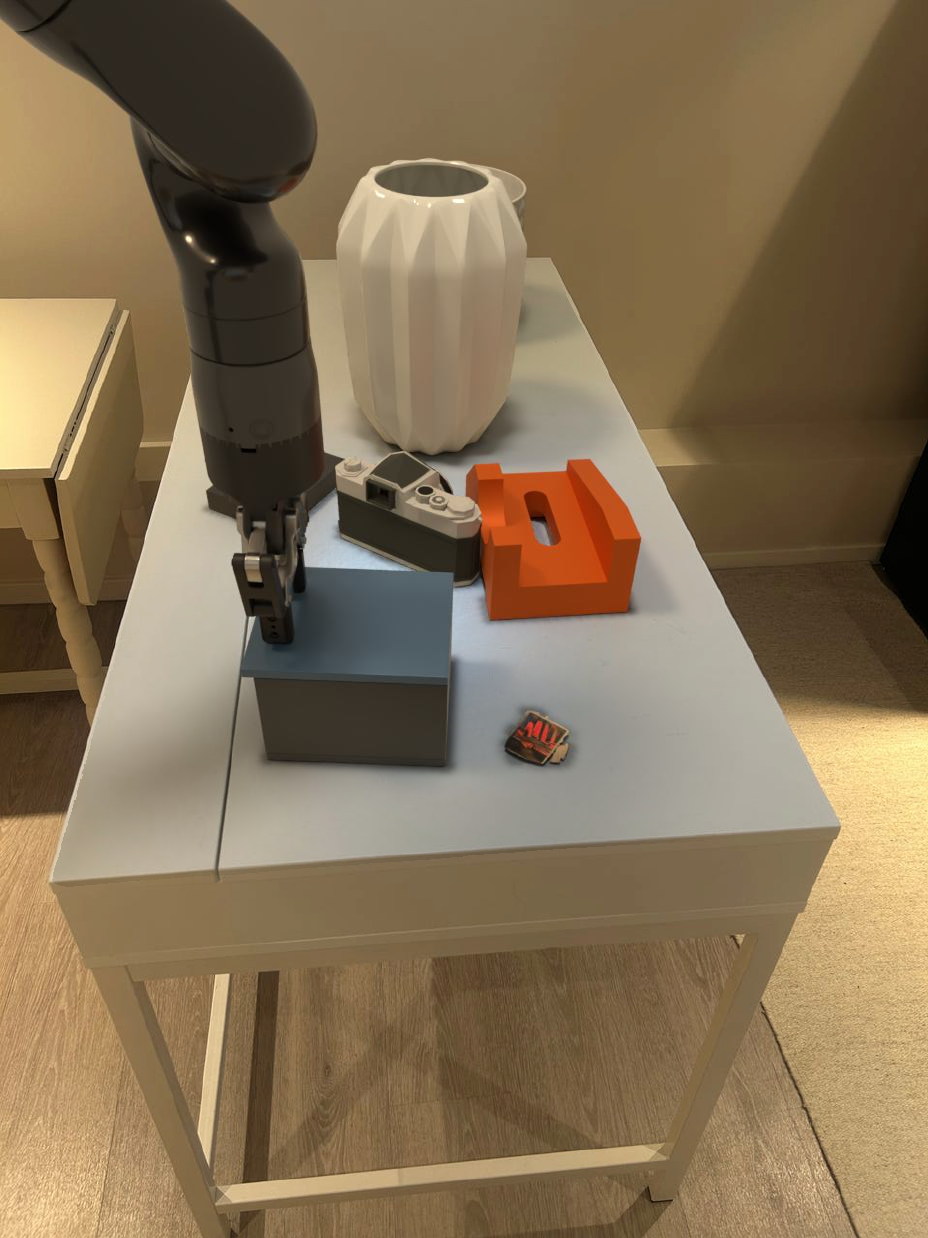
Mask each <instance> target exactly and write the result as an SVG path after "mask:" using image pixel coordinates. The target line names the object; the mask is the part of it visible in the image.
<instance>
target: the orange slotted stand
mask: <svg viewBox="0 0 928 1238" xmlns="http://www.w3.org/2000/svg"><path fill="white" fill-rule="evenodd" d="M464 495H465V496H464V497H469V498H470V499H471V500H473V501H474V502H475V504H477V505H478V507H479V509H480V511H481V518H482V519H483V522H482V527H481V540H480V569H481V573H482V575H483V576H482V577H483V582H484V586H485V605H486V610H487V614H488V619H489V621H499V620H514V619H531V618H548V617H549V618H550V617H565V616H582V615H598V614H599V615H601V614H615V613H617V614H618V613H627V612H628V611H629V606H630V599H631V594H632V589H633V584H634V578H635V573H636V569H637V563H638V558H639V553H640V547H641V542H642V536H641V534H640V532H639V530H638V527H637V525H636V523H635V520H634V518H633V516H632V513H631V511H630V509H629V507H628V505H627V504H626V502H625V501H624V500H623V499H622V498H621V496H620V495H619V493H618V492H617V491H616V490H615V489H614V488H613V486H612V485H611V483H610V482H609V481H608V480H607V479H606V477H605V476H604V475H603V473H602V472H601V471H600V470H599V468H598V467H597V466H596V464H595V463H594V462H593V461H592V459H591V458H576V459H567V462H566V470H556V471H555V470H553V471H535V472H534V471H533V472H532V471H531V472H530V471H529V472H508V473H503V472H502V468H501V464H500V463H499V462H496V463H495V462H494V463H474V464H473V465H472V467H471V468H470V469H469V471H468V472H467V474H466V475H465V494H464ZM543 517H545V520H546V523H547V527H548V529H549V532H550V536H551V540H552V542H553V545H546V544H543V543H541V542H539V541H538V539H537V536H536V534H535V531H534V527H533V523H532V521H531V518H543Z"/></svg>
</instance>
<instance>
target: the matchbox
mask: <svg viewBox="0 0 928 1238" xmlns="http://www.w3.org/2000/svg"><path fill="white" fill-rule="evenodd" d="M525 711H526V712H524V715H523V716H522V718H519V722H518V723H517V724H516V726H515V727H514V728H513V729H512V730H510V731H509V733H508V735H507V738H506V741H505V744H504V748H505V749H507V750H508V751H509V752H511V753H512V754H515V755H517V756H518V757H521V758H523V759H524V760H527V761H530V762H534V763H537V764H541V765H543V764H544V763H545V762H546V761H549V762H550V763H561V759H562V761H564V760H565V758H566V755H567V754H568V749H569V743H564V745H563V744H561V743H563V742H564V738H565V737H566V736H568V735H569V732H570V729H567V727H564V726H561V725H560V724H559V723H557V722H556V721H555V722H554V721H553V720H551V719H550V718H549V716H548V715H546V716H543V715H542V714H541V713H540V712H538V711H535V710H531V709H529V710H527V709H526V710H525ZM551 755H552V756H551ZM550 756H551V758H550ZM513 757H514V758H516V756H514V755H513ZM548 758H550V759H549V760H548Z"/></svg>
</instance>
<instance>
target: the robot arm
mask: <svg viewBox="0 0 928 1238" xmlns="http://www.w3.org/2000/svg"><path fill="white" fill-rule="evenodd" d="M0 21H1V22H3V23H4V24H5V25H6V26H7V27H9V28H10V29H11V30H13V32H15V33H16V35H18V36H19V37H20V38H21V39H23V40H24V41H26V42H27V43H28V44H29V45H31V46H32V47H33V48H34V49H36V50H37V51H38V52H40V53H42V54H43V55H44V56H46V57H47V58H48V59H50V60H51V61H53V62H54V63H56V64H58V65H60V66H61V67H63V68H65V69H66V70H68V71H70V72H71V73H73V74H74V75H77V76H79V77H81V78H82V79H84V80H85V81H87V82H88V83H90V84H91V85H93V86H94V87H96V88H97V89H98V90H100V91H101V92H102V93H103V94H104V95H105V96H107V97H108V98H109V99H110V100H111V101H112V102H114V104H116V105H117V106H118V107H119V108H120V109H121V110H122V111H124V113H126V114H127V115H128V118H129V125H130V131H131V135H132V141H133V144H134V149H135V152H136V156H137V159H138V164H139V166H140V169H141V172H142V175H143V179H144V182H145V185H146V187H147V190H148V193H149V196H150V198H151V201H152V204H153V207H154V210H155V213H156V216H157V219H158V223H159V225H160V227H161V231H162V233H163V235H164V238H165V240H166V243H167V245H168V247H169V249H170V252H171V255H172V258H173V261H174V263H175V267H176V272H177V278H178V288H179V294H180V302H181V307H182V311H183V319H184V324H185V329H186V336H187V341H188V347H189V359H190V360H189V363H190V366H189V370H190V382H191V389H192V394H193V399H194V406H195V411H196V418H197V423H198V428H199V429H198V430H199V434H200V439H201V440H200V441H201V446H202V450H203V456H204V457H203V458H204V462H205V469H206V473H207V476H208V479H209V481H210V483H211V484H212V485H214V486H215V487H216V488H217V489H218V490H219V491H220V492H222V493H223V494H225V495H227V496H229V497H231V498H233V499H234V500H236V501H237V502H238V503H240V504H241V505H242V506H238V507H237V513H236V518H235V519H236V530H237V532H238V534H239V535H240V540H241V552H234V553H233V555H232V558H231V559H230V560H231V562H230V565H231V567H232V571H233V575H234V578H235V582H236V585H237V589H238V591H239V596H240V600H241V603H242V606H243V610H244V614H245V616H246V617H247V618H248V617H249V618H255V617H256V616H259V621H260V627H261V634H262V639H263V641H264V642H266V643H270V644H291V643H292V642H293V639H294V635H295V631H294V623H293V615H292V607H291V602H292V595H291V591H290V576H292V575H293V573H294V571H295V570H296V571H295V575H294V586H295V593H302V592H304V591H305V588H306V584H307V581H306V571H305V567H306V563H305V554H304V553H305V552H304V549H305V546H306V545H307V540H308V539H307V537H306V533H307V528H308V525H309V523H310V515H309V511H308V501H307V490H309V489H310V488H311V487H313V486H314V485H315V484H316V483H317V482H318V481H319V479H320V478H321V476H322V474H323V472H324V469H325V456H324V452H325V444H324V435H323V433H324V432H323V419H322V406H321V405H322V404H321V393H320V381H319V372H318V367H317V362H316V356H315V353H314V350H313V349H314V348H313V344H312V343H313V342H312V337H311V326H310V311H309V300H308V287H307V281H306V273H305V267H304V261H303V258H302V255H301V253H300V250H299V248H298V246H297V245H296V243H295V241H294V240H293V239H292V238H291V237H290V235H289V234H288V233H287V232H286V230H284V228H283V227H282V226H281V225H280V223H279V222H278V220H277V219H276V217H275V215H274V213H273V210H272V207H271V202H272V203H273V202H275V201H278V200H280V199H282V198H284V197H286V196H288V195H290V194H291V193H292V192H294V191H295V190H296V189H297V188H298V187H299V186H300V185H301V184H302V183H303V181H304V180H305V179H306V177H307V176H308V174H309V172H310V171H311V168H312V167H313V164H314V160H315V158H316V154H317V148H318V139H319V138H318V136H319V134H318V132H319V131H318V120H317V115H316V109H315V107H314V104H313V101H312V97H311V95H310V93H309V89H308V88H307V86H306V83H305V82H304V80H303V79H302V77H301V75H300V74H299V72H298V70H297V69H296V68H295V66H294V65H293V64H292V63H291V61H290V60H289V58H288V57H287V56H286V55H285V54H284V53H283V51H281V50H280V48H279V47H278V46H277V45H276V44H275V43H274V42H273V41H272V40H271V39H270V38H269V37H268V35H266V34H265V33H264V32H263V31H262V30H261V29H260V28H259V27H257V26H256V25H255V24H254V23H253V22H252V21H251V20H250V19H248V17H247V16H245V14H243V13H242V12H241V11H240V10H239V9H237V8H236V7H235V5H233V4H231V2H229V0H0ZM297 552H298V554H299V559H298V563H297ZM281 554H286V560H276V559H275V555H281Z"/></svg>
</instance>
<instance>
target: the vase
mask: <svg viewBox="0 0 928 1238" xmlns="http://www.w3.org/2000/svg"><path fill="white" fill-rule="evenodd" d="M469 164H470V163H468V162H466V161H464V160H443V159H438V158H434V157H433V158H432V157H426V158H421V159H420V158H419V159H416V160H410V159H407V160H406V159H397V160H394V161H392V162H391V163H389V164H385V165H377V166H376V165H375V166H373V167H371V168H370V169H369V170H368V172H367V173H366V175H365V176H362V177H361V178H360V180H359V181H358V183H357V185H356V186H355V189H354V191H353V192H352V194H351V197H350V199H349V201H348V203H347V204H346V206H345V209H344V211H343V214H342V216H341V218H340V220H339V223H338V226H337V235H338V237H337V240H336V243H335V249H336V250H335V251H336V252H335V253H336V263H337V264H336V265H337V275H338V277H337V278H338V289H339V295H340V296H339V297H340V303H341V311H342V320H343V328H344V335H345V337H344V338H345V344H346V345H345V346H346V352H347V358H348V359H347V360H348V367H349V373H350V379H351V386H352V392H353V397H354V400H355V402H356V403H357V405H358V406H359V408H360V409H361V410H362V412H363V413H364V415H365V416H366V418H367V419H368V420H369V422H370V423H371V425H372V426H373V427H374V429H375V430H376V432H377V433H378V435H379V436H380V438H381V439H383V441H384V442H385V443H387V444H390V445H395V446H398V447H399V448H400V449H401V450H402V451H407V452H408V453H423V454H425V455H427V456H437V455H439V454H441V453H445V452H446V453H447V452H448V453H457V452H460V451H461V450H462V449H463V448H464V447H465V446H466V445H470V444H473V443H476V442H478V441H479V439H480V438H481V437H482V436H483V434H484V433H485V431H486V430H487V428H488V427H489V425H490V424H491V422H493V420H494V418H495V417H496V415H497V414H498V412H500V409H502V407H503V405H505V402H506V401H507V399H508V396H509V390H510V384H511V379H512V378H511V377H512V372H513V367H514V361H515V355H516V345H517V339H518V332H519V331H518V330H519V326H520V325H519V324H520V317H521V308H522V303H523V294H524V287H525V286H524V285H525V278H526V277H525V275H526V265H527V256H528V255H527V254H528V244H527V240H526V237H525V235H524V232H522V229H521V228H522V227H521V224H520V221H519V219H518V216H517V214H516V211H515V209H514V206H513V204H512V202H511V199H510V197H509V195H508V192H507V190H506V188H505V186H504V184H503V182H502V180H501V179H499V178H497V177H495V176H493V174H492V173H491V171H490V170H489V169H487V168H483V167H476V166H471V165H469Z"/></svg>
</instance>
